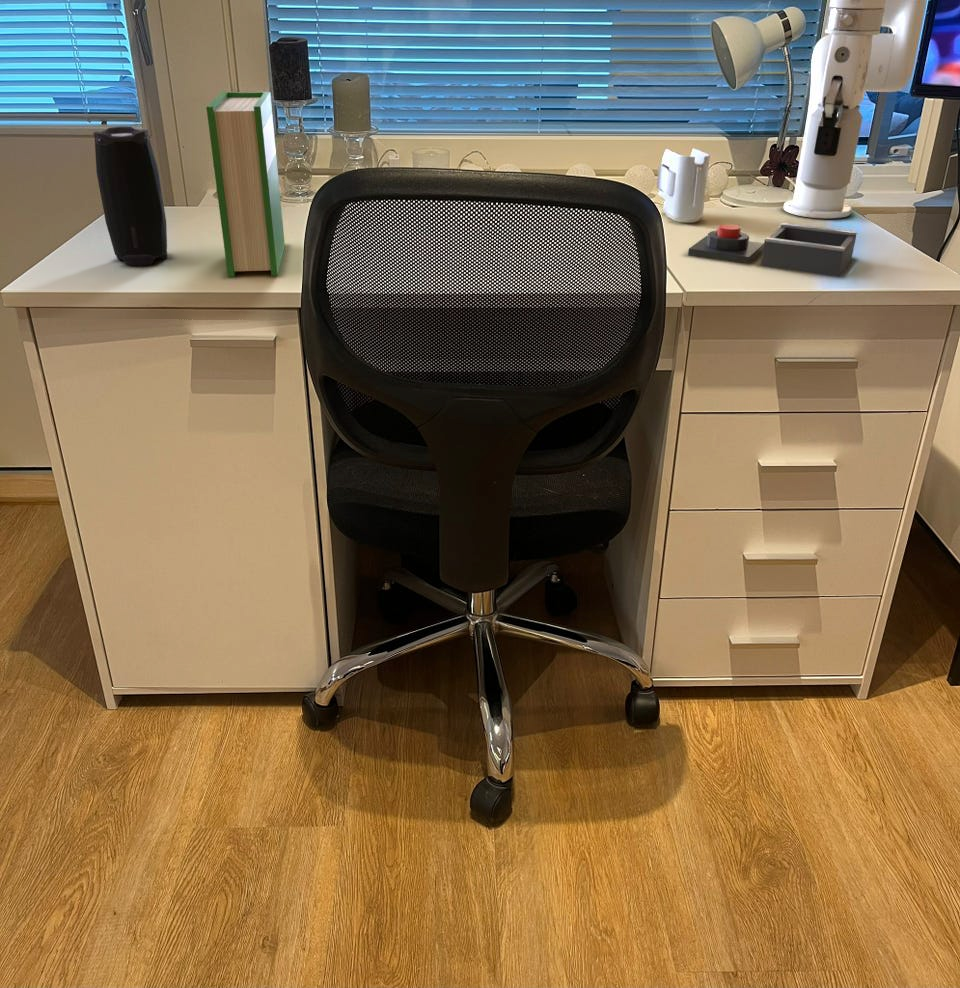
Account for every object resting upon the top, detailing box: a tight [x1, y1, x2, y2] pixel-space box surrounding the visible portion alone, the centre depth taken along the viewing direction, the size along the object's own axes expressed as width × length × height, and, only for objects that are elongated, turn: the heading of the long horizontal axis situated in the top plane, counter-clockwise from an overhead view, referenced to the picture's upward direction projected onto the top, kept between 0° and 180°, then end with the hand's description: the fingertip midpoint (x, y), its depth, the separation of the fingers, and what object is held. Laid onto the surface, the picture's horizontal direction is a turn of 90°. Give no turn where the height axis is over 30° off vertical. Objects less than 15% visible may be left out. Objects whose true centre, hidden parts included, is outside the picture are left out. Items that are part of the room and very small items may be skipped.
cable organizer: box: [656, 147, 711, 224], centre depth 174 cm, size 7×12×12 cm, turn 12°
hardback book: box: [205, 91, 286, 278], centre depth 144 cm, size 18×7×24 cm, turn 7°
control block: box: [687, 229, 764, 265], centre depth 155 cm, size 10×10×3 cm
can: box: [800, 103, 864, 190], centre depth 143 cm, size 8×8×12 cm
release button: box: [717, 223, 742, 238], centre depth 154 cm, size 4×4×2 cm
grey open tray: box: [760, 222, 858, 278], centre depth 150 cm, size 12×12×4 cm
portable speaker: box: [93, 125, 168, 267], centre depth 144 cm, size 9×9×20 cm
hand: (830, 149), depth 143 cm, fingers closed on can, 7 cm apart
